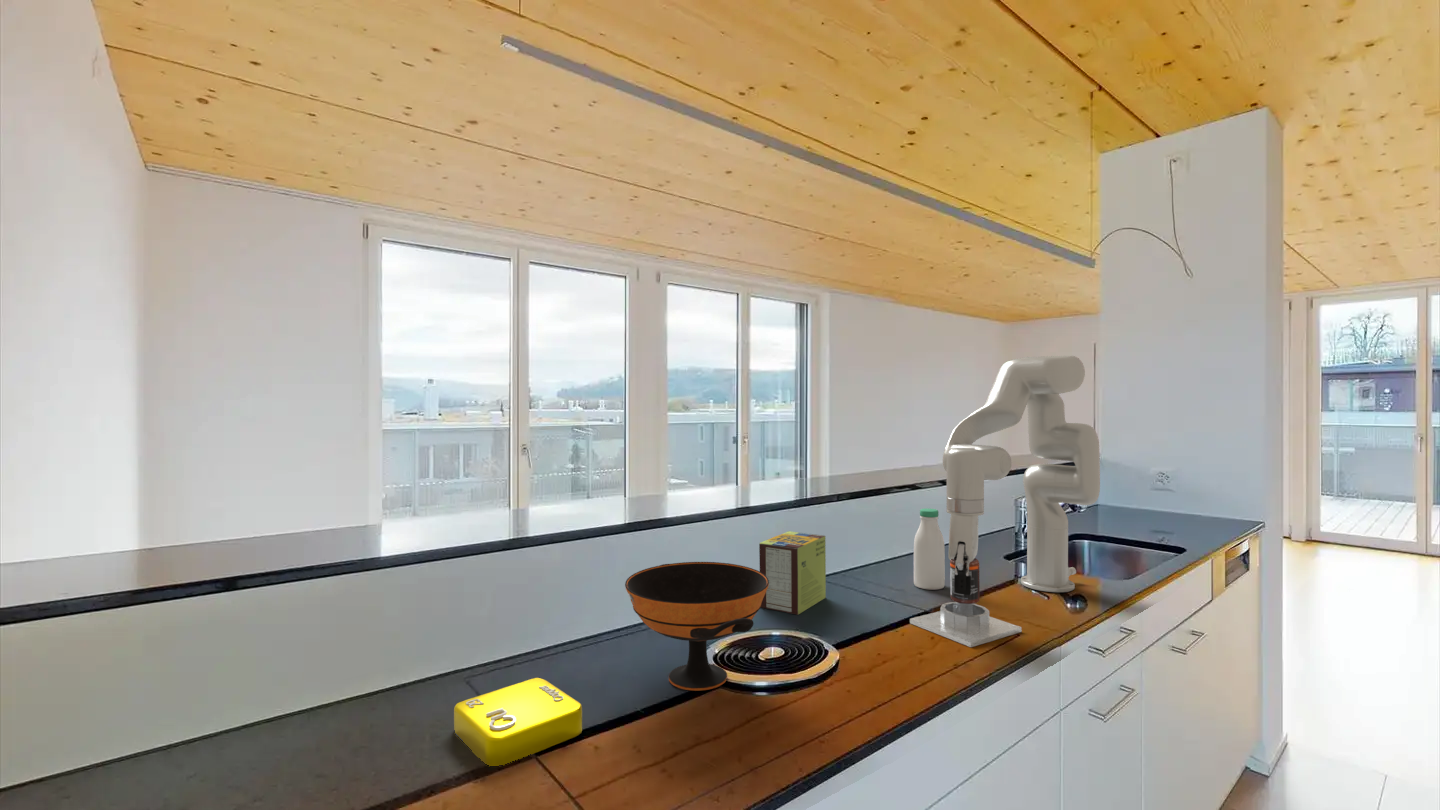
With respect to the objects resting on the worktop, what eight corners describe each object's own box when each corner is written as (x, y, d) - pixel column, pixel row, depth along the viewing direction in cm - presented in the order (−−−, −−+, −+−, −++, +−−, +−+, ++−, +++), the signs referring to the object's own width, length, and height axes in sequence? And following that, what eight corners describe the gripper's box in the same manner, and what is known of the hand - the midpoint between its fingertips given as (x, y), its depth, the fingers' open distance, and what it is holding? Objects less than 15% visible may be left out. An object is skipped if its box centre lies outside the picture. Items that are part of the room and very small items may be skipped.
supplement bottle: (964, 594, 147) (964, 543, 147) (985, 602, 141) (986, 549, 141) (944, 598, 144) (944, 546, 144) (965, 606, 139) (965, 552, 139)
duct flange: (959, 610, 154) (959, 593, 154) (1021, 631, 140) (1021, 613, 140) (909, 623, 146) (909, 605, 146) (970, 647, 132) (970, 627, 132)
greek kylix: (812, 708, 107) (812, 599, 107) (661, 742, 97) (660, 622, 97) (722, 633, 140) (722, 550, 140) (603, 653, 130) (602, 563, 130)
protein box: (826, 597, 164) (826, 535, 164) (798, 615, 151) (797, 547, 151) (788, 590, 170) (788, 530, 169) (758, 607, 157) (758, 542, 157)
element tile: (587, 734, 100) (587, 703, 100) (491, 773, 90) (490, 738, 90) (540, 700, 111) (540, 672, 111) (449, 732, 101) (449, 701, 101)
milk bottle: (948, 590, 169) (948, 512, 169) (918, 590, 169) (918, 512, 169) (939, 581, 177) (939, 506, 176) (910, 581, 177) (910, 507, 177)
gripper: (953, 498, 152) (953, 577, 152) (939, 511, 136) (939, 598, 137) (988, 501, 148) (988, 581, 149) (978, 514, 133) (978, 603, 133)
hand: (965, 588), depth 143 cm, fingers closed on supplement bottle, 6 cm apart
